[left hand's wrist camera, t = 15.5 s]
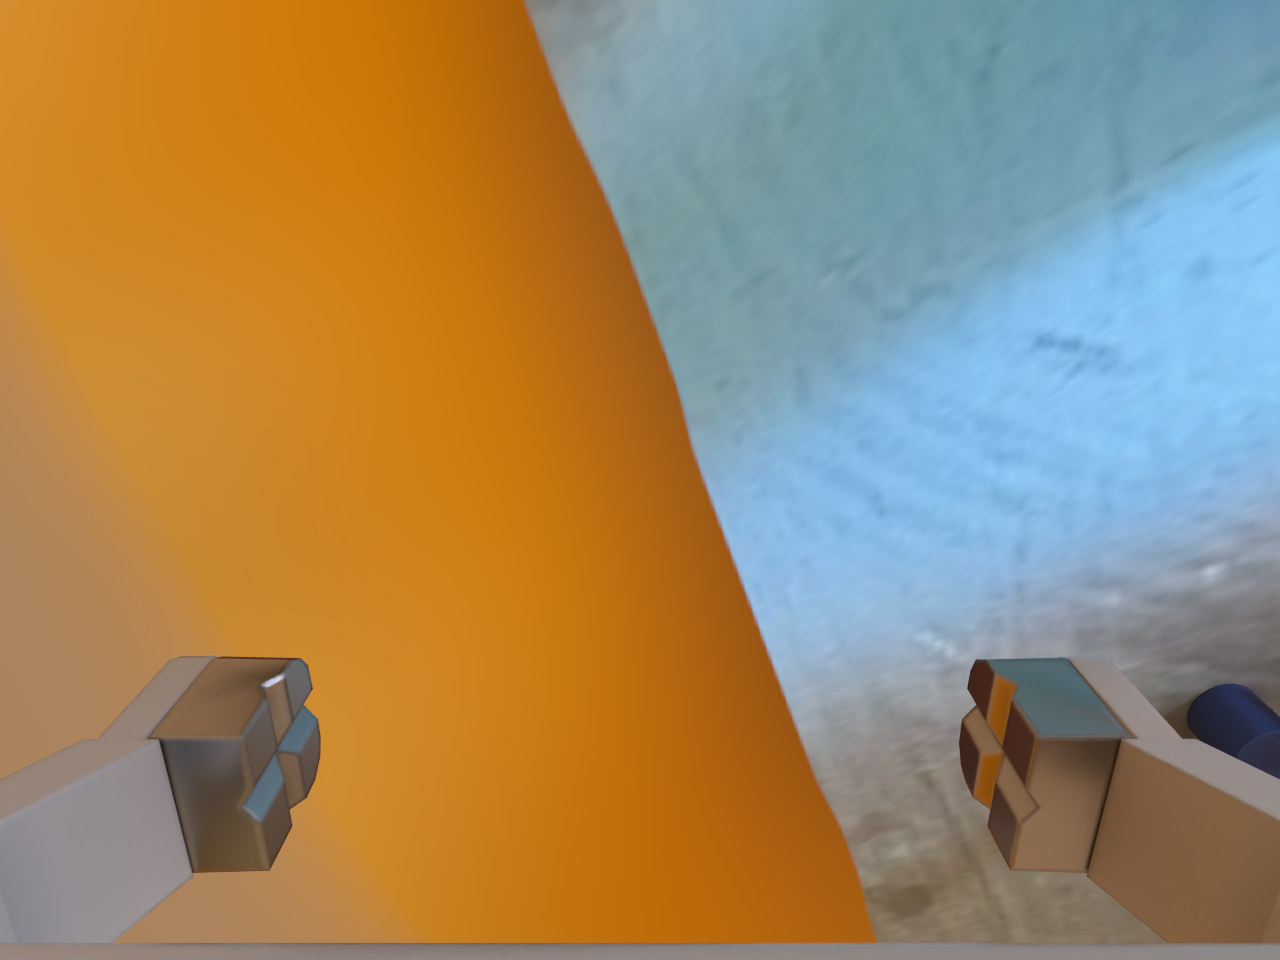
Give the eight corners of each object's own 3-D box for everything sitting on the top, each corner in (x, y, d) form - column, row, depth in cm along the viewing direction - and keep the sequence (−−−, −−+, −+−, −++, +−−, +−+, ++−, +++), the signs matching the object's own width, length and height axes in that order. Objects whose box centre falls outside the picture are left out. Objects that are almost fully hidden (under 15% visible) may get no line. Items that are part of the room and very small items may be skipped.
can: (1176, 734, 57) (1220, 784, 52) (1204, 678, 55) (1253, 725, 51) (1238, 744, 57) (1288, 795, 53) (1269, 689, 55) (1323, 737, 51)
